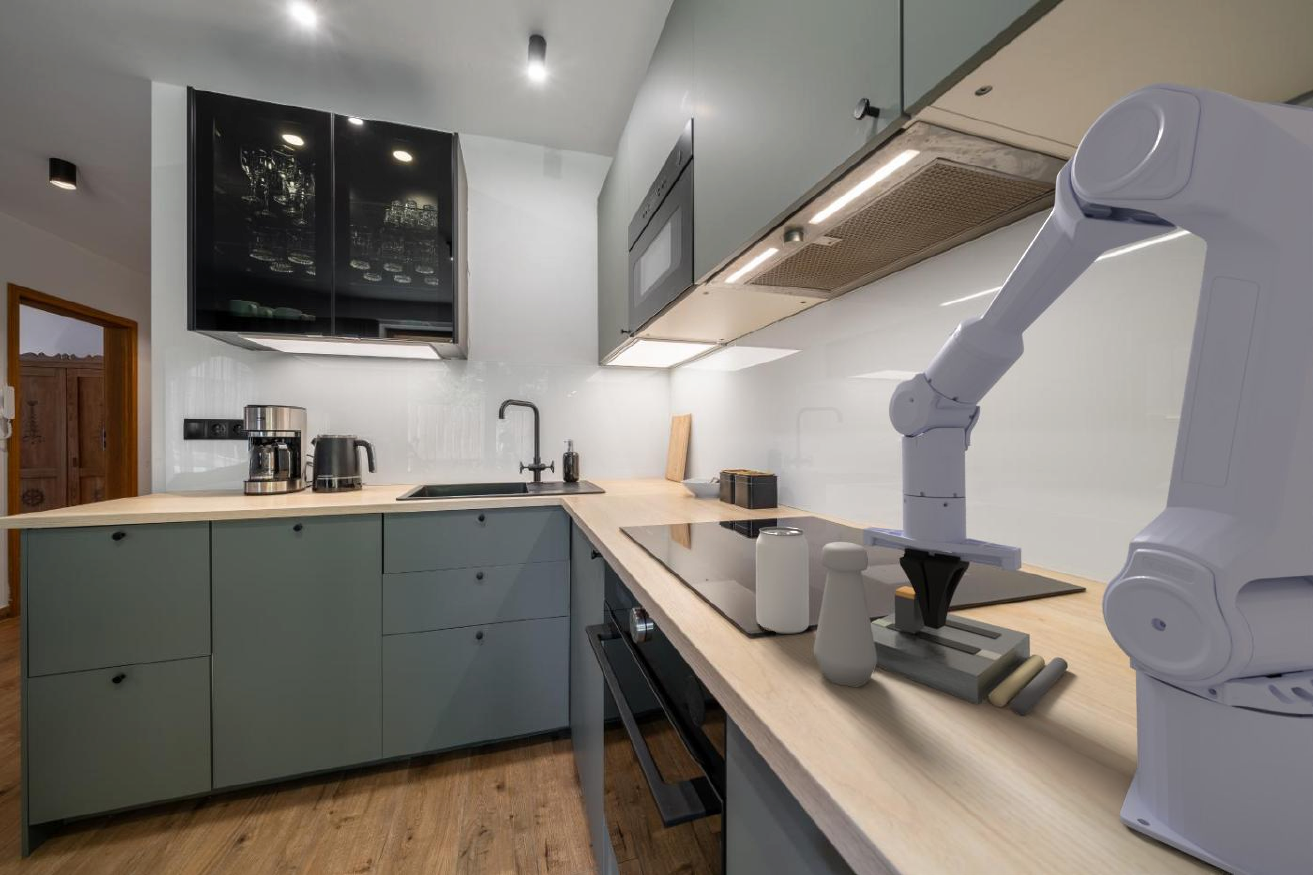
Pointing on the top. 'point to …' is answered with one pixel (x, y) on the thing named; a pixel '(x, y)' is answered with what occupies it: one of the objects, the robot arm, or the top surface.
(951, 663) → the dual slot slider
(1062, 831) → the top surface
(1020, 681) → the pair of rollers
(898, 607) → the toggle
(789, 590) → the can
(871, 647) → the salt shaker
